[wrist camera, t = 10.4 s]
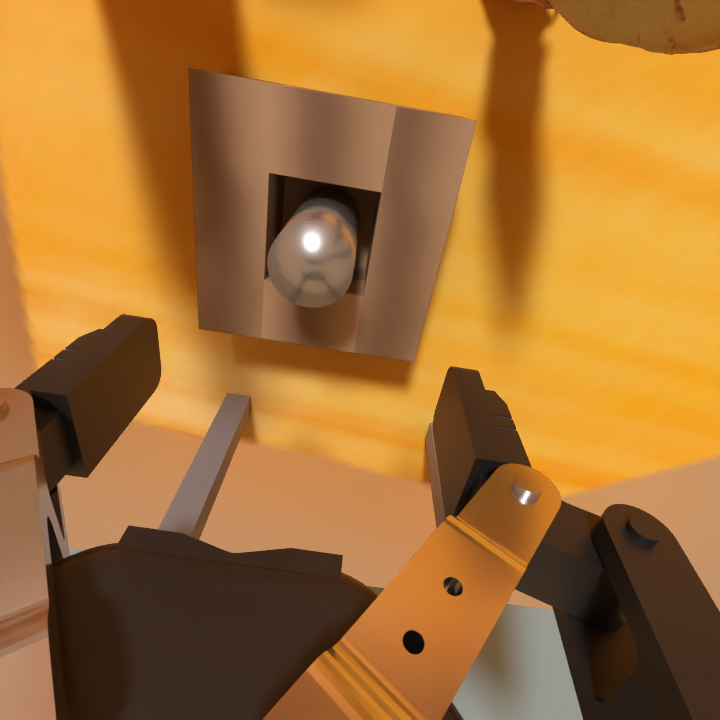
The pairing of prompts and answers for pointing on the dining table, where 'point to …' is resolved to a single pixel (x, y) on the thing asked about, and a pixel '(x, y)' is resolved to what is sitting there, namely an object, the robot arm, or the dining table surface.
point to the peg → (317, 249)
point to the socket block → (293, 184)
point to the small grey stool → (501, 649)
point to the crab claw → (645, 22)
